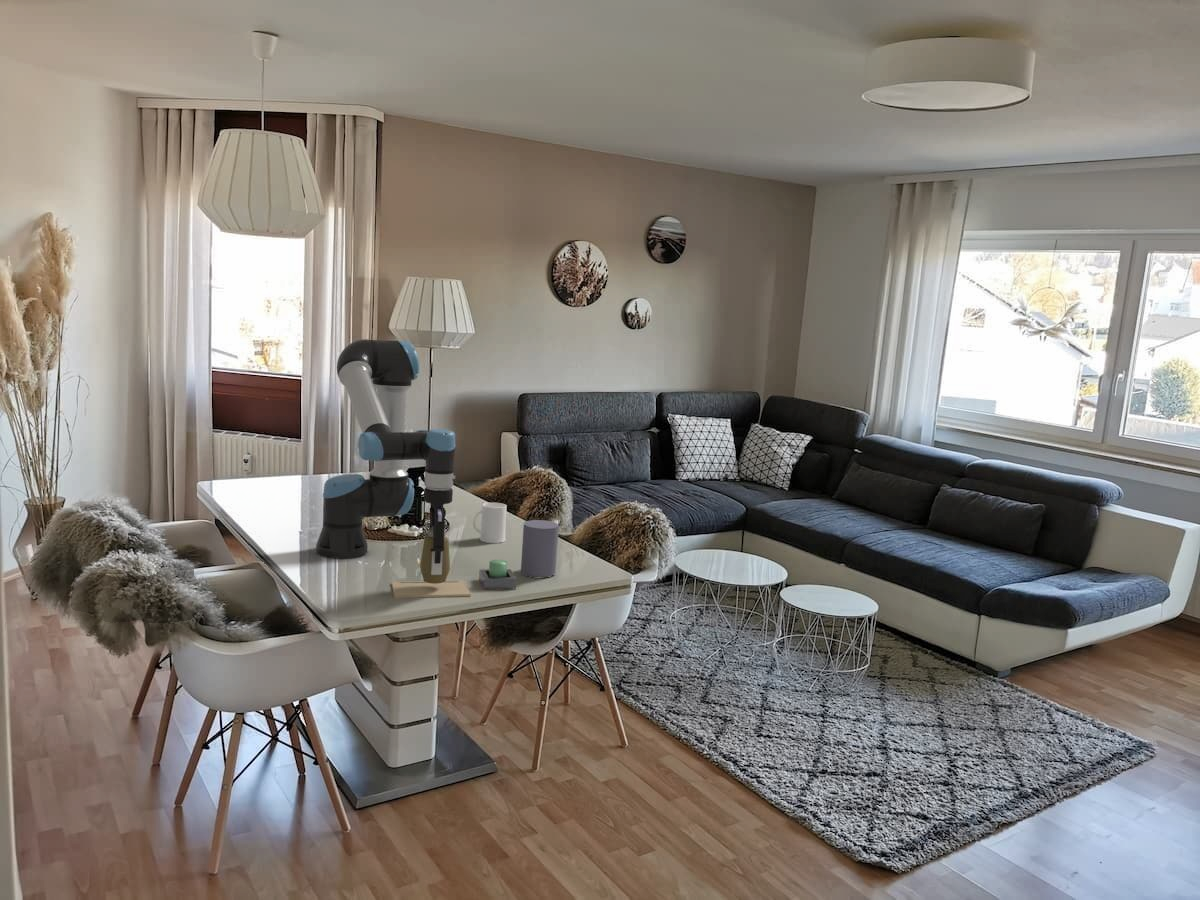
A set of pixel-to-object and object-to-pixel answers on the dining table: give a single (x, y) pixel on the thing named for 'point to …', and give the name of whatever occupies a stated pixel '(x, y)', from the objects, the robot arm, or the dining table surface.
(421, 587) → the sketch pad
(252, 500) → the dining table surface
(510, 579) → the button housing
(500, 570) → the button
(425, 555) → the squeeze bottle
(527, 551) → the container
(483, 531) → the mug
